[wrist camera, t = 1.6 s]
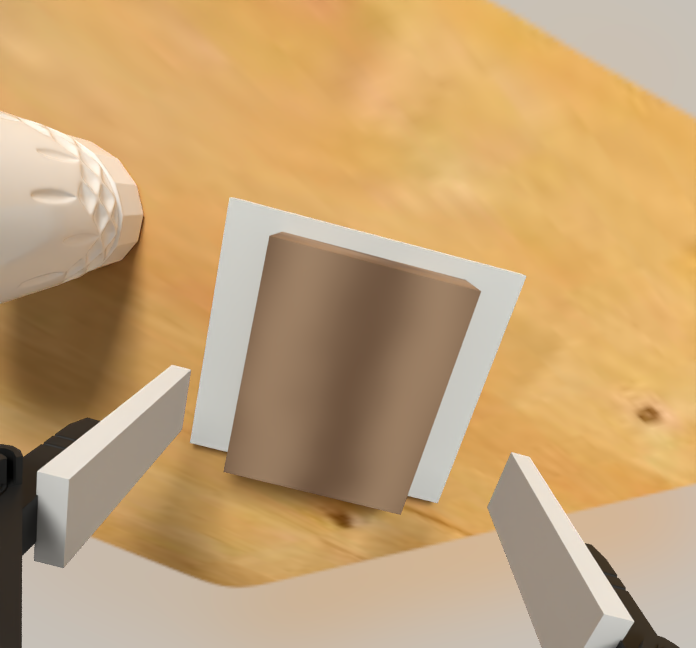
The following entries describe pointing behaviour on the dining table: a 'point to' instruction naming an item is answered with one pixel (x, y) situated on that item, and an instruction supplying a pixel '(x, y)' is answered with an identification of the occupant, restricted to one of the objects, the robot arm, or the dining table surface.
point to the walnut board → (345, 371)
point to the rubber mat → (262, 221)
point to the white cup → (59, 208)
